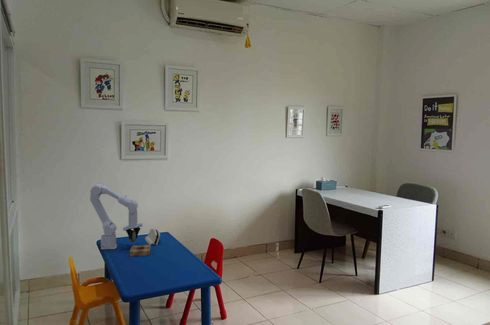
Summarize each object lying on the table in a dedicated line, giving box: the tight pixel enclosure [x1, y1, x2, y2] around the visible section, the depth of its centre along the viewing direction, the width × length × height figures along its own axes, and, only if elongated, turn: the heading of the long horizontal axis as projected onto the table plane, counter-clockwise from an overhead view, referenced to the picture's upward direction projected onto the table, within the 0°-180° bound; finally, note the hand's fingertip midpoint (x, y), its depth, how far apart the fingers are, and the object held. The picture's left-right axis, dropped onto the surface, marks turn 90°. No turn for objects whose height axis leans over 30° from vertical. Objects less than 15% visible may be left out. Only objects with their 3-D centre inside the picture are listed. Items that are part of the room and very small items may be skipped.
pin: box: [129, 229, 137, 243], centre depth 255 cm, size 4×4×7 cm
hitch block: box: [129, 244, 152, 257], centre depth 245 cm, size 12×12×3 cm
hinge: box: [144, 228, 161, 246], centre depth 268 cm, size 17×5×10 cm, turn 27°
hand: (133, 238), depth 255 cm, fingers closed on pin, 4 cm apart
